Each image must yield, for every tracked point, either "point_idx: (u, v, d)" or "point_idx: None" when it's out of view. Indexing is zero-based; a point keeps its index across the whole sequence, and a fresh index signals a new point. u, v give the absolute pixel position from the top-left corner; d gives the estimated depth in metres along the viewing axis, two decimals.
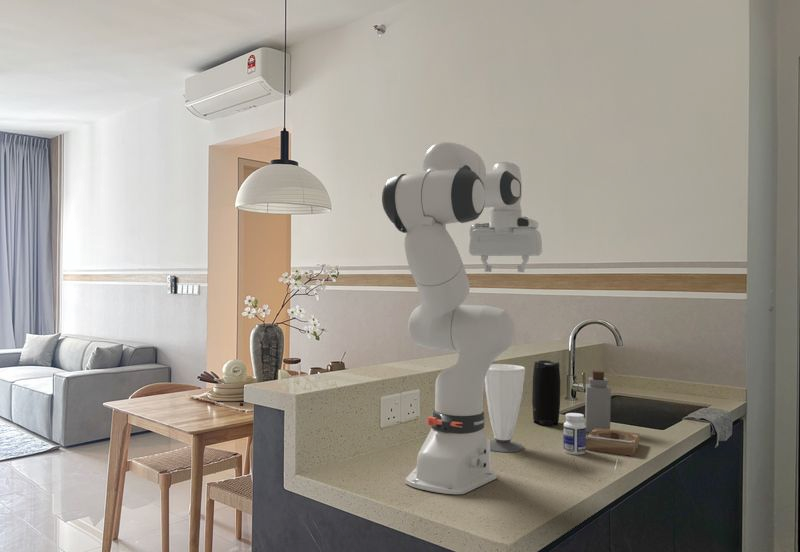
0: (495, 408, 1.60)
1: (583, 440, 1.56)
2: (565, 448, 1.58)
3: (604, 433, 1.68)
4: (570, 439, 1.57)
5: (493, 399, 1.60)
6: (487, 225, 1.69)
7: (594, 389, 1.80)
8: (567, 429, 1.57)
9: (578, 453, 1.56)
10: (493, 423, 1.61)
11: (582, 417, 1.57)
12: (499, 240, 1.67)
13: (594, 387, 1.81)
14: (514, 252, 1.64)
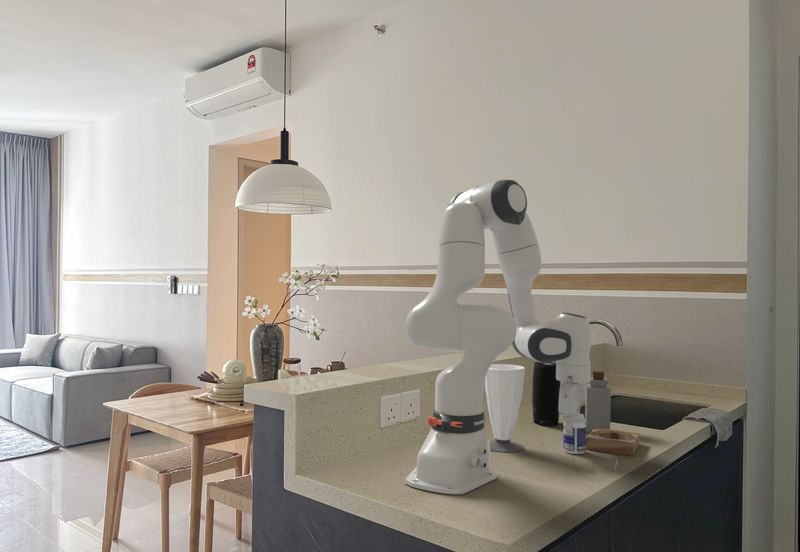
0: (495, 408, 1.60)
1: (583, 440, 1.56)
2: (565, 448, 1.58)
3: (604, 433, 1.68)
4: (570, 438, 1.57)
5: (493, 399, 1.60)
6: (571, 379, 1.55)
7: (594, 389, 1.80)
8: None
9: (578, 452, 1.56)
10: (493, 423, 1.61)
11: (582, 417, 1.57)
12: (577, 394, 1.58)
13: (594, 387, 1.81)
14: (581, 403, 1.62)
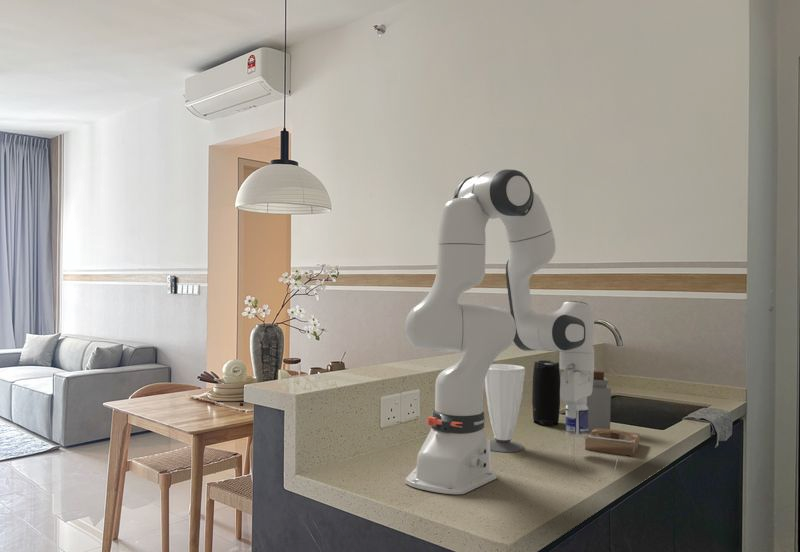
0: (495, 408, 1.60)
1: (585, 422, 1.55)
2: (567, 430, 1.56)
3: (604, 433, 1.68)
4: (572, 421, 1.55)
5: (493, 399, 1.60)
6: (573, 367, 1.54)
7: (594, 389, 1.80)
8: None
9: (580, 434, 1.54)
10: (493, 423, 1.61)
11: (584, 399, 1.56)
12: (581, 383, 1.56)
13: (594, 387, 1.81)
14: (586, 394, 1.60)
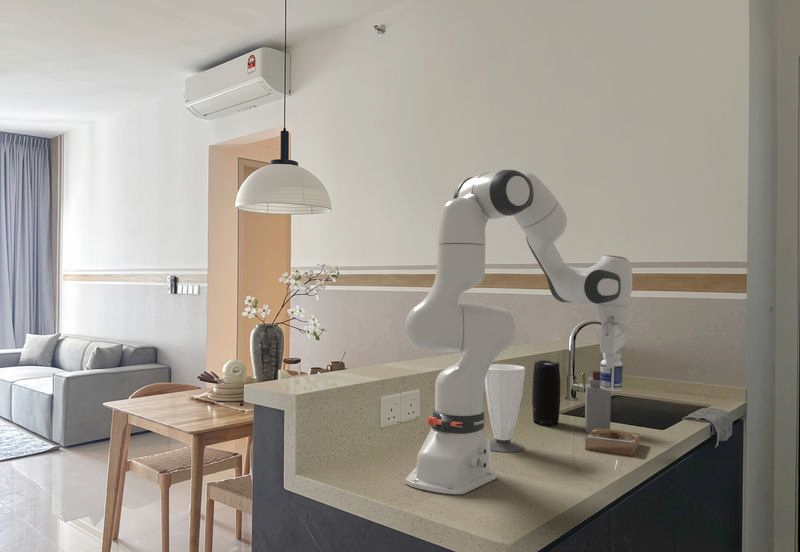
0: (495, 408, 1.60)
1: (620, 377, 1.62)
2: (602, 385, 1.64)
3: (604, 433, 1.68)
4: (607, 376, 1.63)
5: (493, 399, 1.60)
6: (612, 319, 1.59)
7: (594, 389, 1.80)
8: (604, 367, 1.63)
9: (615, 389, 1.62)
10: (493, 423, 1.61)
11: (619, 355, 1.63)
12: (618, 335, 1.62)
13: (594, 387, 1.81)
14: (621, 345, 1.66)
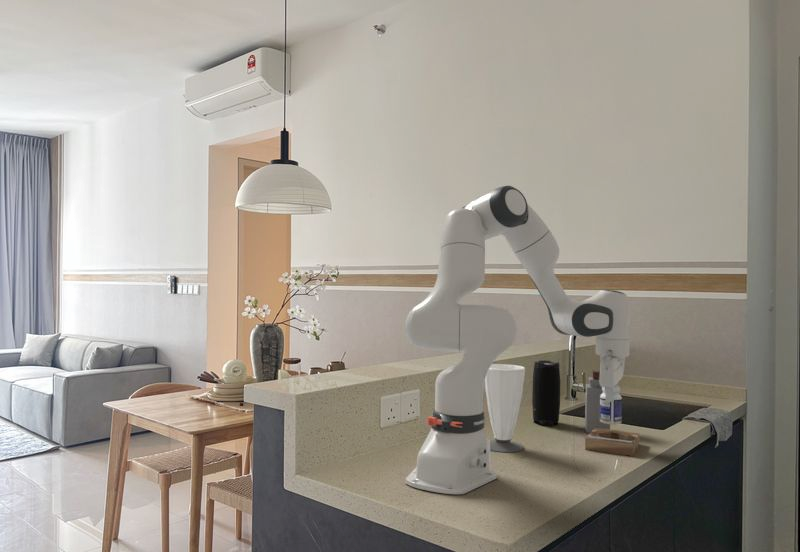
0: (495, 408, 1.60)
1: (619, 411, 1.63)
2: (602, 418, 1.65)
3: (604, 433, 1.68)
4: (607, 410, 1.63)
5: (493, 399, 1.60)
6: (611, 353, 1.61)
7: (594, 389, 1.80)
8: (604, 400, 1.64)
9: (615, 422, 1.63)
10: (493, 423, 1.61)
11: (618, 389, 1.64)
12: (617, 368, 1.64)
13: (594, 387, 1.81)
14: (620, 378, 1.68)
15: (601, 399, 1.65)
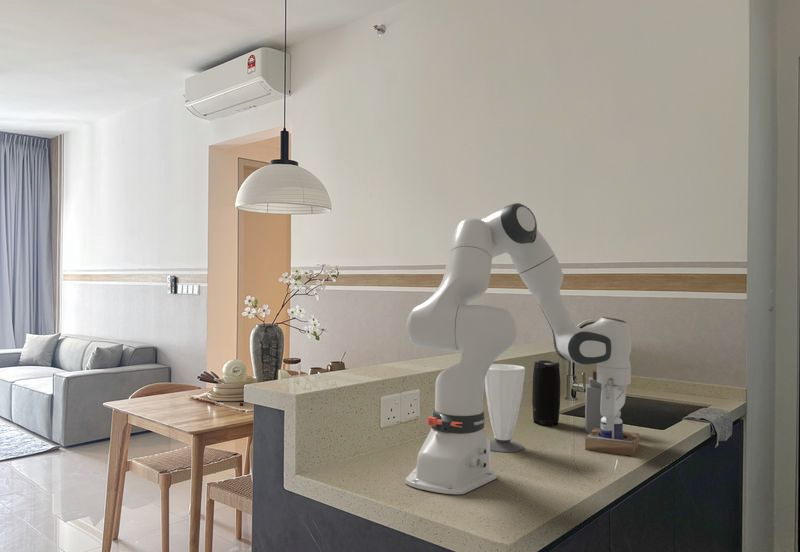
0: (495, 408, 1.60)
1: (620, 435, 1.63)
2: None
3: None
4: (607, 434, 1.63)
5: (493, 399, 1.60)
6: (612, 382, 1.60)
7: (594, 389, 1.80)
8: (604, 424, 1.64)
9: None
10: (493, 423, 1.61)
11: (619, 413, 1.63)
12: (618, 396, 1.63)
13: (594, 387, 1.81)
14: (621, 406, 1.67)
15: (602, 423, 1.65)
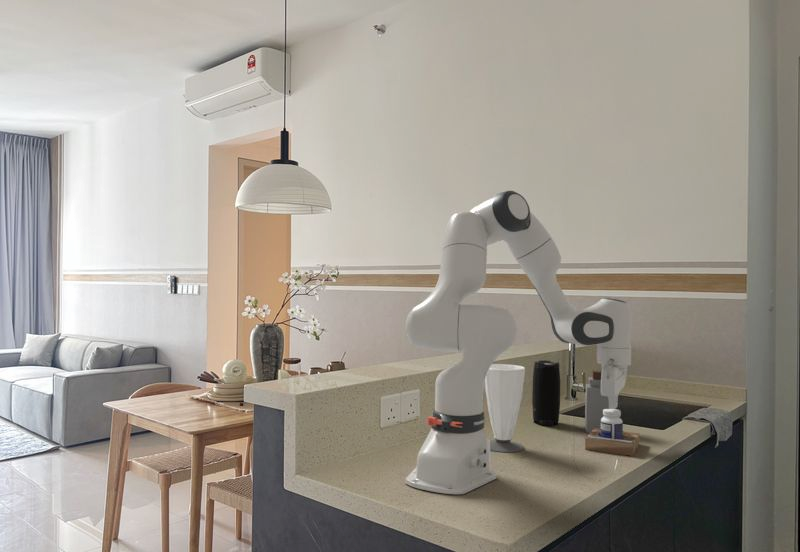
0: (495, 408, 1.60)
1: (620, 435, 1.63)
2: None
3: None
4: (607, 434, 1.63)
5: (493, 399, 1.60)
6: (612, 362, 1.60)
7: (594, 389, 1.80)
8: (604, 424, 1.64)
9: None
10: (493, 423, 1.61)
11: (619, 413, 1.63)
12: (618, 377, 1.63)
13: (594, 387, 1.81)
14: (622, 387, 1.67)
15: (602, 423, 1.65)
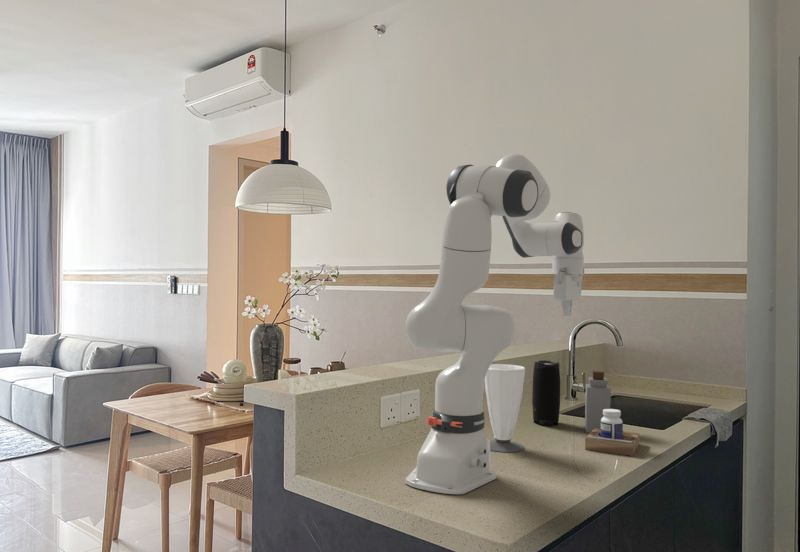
0: (495, 408, 1.60)
1: (620, 435, 1.63)
2: None
3: None
4: (607, 434, 1.63)
5: (493, 399, 1.60)
6: (565, 270, 1.72)
7: (594, 389, 1.80)
8: (604, 424, 1.64)
9: None
10: (493, 423, 1.61)
11: (619, 413, 1.63)
12: (571, 286, 1.74)
13: (594, 387, 1.81)
14: (576, 297, 1.78)
15: (602, 423, 1.65)
